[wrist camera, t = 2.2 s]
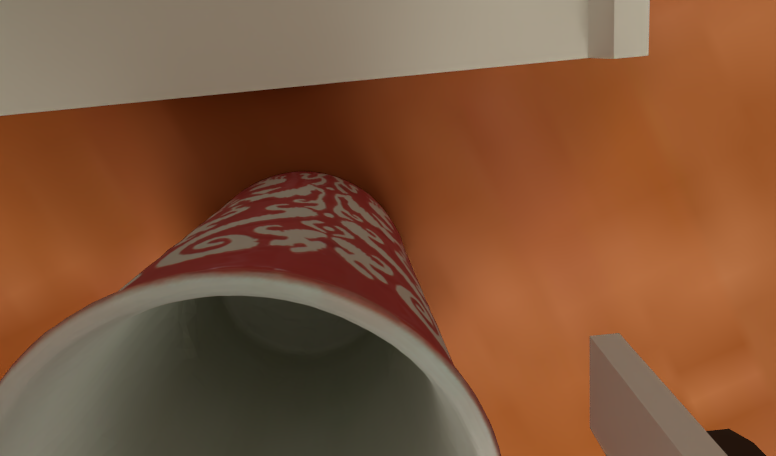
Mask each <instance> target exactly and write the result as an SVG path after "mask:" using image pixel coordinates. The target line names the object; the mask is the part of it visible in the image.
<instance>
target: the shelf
mask: <svg viewBox="0 0 776 456" xmlns="http://www.w3.org/2000/svg"><path fill="white" fill-rule="evenodd" d="M649 7H650V0H0V116H3V115H13V114H24V113H34V112H44V111H54V110H64V109H74V108H85V107H95V106H105V105H115V104H125V103H135V102H146V101H156V100H166V99H176V98H186V97H196V96H206V95H217V94H227V93H237V92H247V91H257V90H267V89H278V88H288V87H298V86H308V85H318V84H328V83H339V82H349V81H359V80H369V79H379V78H389V77H399V76H410V75H420V74H430V73H440V72H450V71H460V70H471V69H481V68H491V67H501V66H511V65H521V64H532V63H542V62H552V61H562V60H572V59H582V58H604V59H617V58H628V57H638V56H648V49H649Z"/></svg>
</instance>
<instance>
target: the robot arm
mask: <svg viewBox="0 0 776 456" xmlns="http://www.w3.org/2000/svg"><path fill="white" fill-rule="evenodd" d="M590 429H591V431H592V432H593V434H594V436H595V437H596V439H597V441H598V442H599V444H600V446H601V448H602V449H603V451H604V453H605V454H606V456H766V455H765V454H764V453H763V452H762V451H761V450H760V449H759V448H758V447H757V446H756V445H755V444H754V443H753V442H751V441H749V440H748V439H746V438H744V437H742V436H741V435H739V434H737V433H736V432H734V431H732V430H730V429H723V430H713V431H705V430H704V428H703V427H702V426H701V425H700V424H699V423H698V422H697V421H696V419H695V418H694V417H693V416H692V415H691V414H690V413H689V412H688V410H687V409H686V408H685V407H684V406H683V405H682V404H681V403H680V401H679V400H678V399H677V398H676V397H675V396H674V395H673V394H672V392H671V391H670V390H669V389H668V388H667V387H666V386H665V384H664V383H663V382H662V381H661V380H660V379H659V378H658V377H657V375H656V374H655V373H654V372H653V371H652V370H651V369H650V368H649V366H648V365H647V364H646V363H645V362H644V361H643V360H642V359H641V357H640V356H639V355H638V354H637V353H636V352H635V351H634V350H633V348H632V347H631V346H630V345H629V344H628V343H627V342H626V341H625V339H624V338H623V337H622V336H621V335H620V334H619V333H616V334H606V335H596V336H590Z"/></svg>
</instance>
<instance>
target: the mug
mask: <svg viewBox="0 0 776 456" xmlns="http://www.w3.org/2000/svg"><path fill="white" fill-rule="evenodd" d="M0 456H501V454H500V450H499V446H498V443H497V440H496V437H495V434H494V431H493V429H492V426H491V424H490V422H489V420H488V418H487V416H486V414H485V412H484V410H483V408H482V406H481V404H480V402H479V400H478V399H477V397H476V395H475V393H474V392H473V391H472V389H471V388H470V386H469V385H468V383H467V382H466V381H465V379H464V378H463V377H462V375H461V374H460V373H459V371H458V370H457V369H456V368H455V366H454V365H453V362H452V360H451V358H450V355H449V353H448V351H447V348H446V346H445V343H444V341H443V339H442V336H441V334H440V331H439V329H438V326H437V324H436V321H435V319H434V318H433V316H432V314H431V312H430V309H429V305H428V304H427V302H426V300H425V297H424V295H423V292H422V290H421V287H420V285H419V282H418V280H417V278H416V276H415V273H414V271H413V268H412V266H411V263H410V261H409V259H408V257H407V254H406V252H405V249H404V246H403V243H402V240H401V237H400V235H399V233H398V231H397V229H396V227H395V225H394V224H393V222H392V220H391V219H390V217H389V216H388V214H387V213H386V212H385V210H384V209H383V208H382V207H381V206H380V204H379V203H378V202H377V201H376V200H375V199H374V198H372V197H371V196H370V195H369V194H368V193H366V192H365V191H364V190H362V189H361V188H359V187H358V186H356V185H354V184H352V183H350V182H348V181H346V180H343V179H341V178H338V177H335V176H331V175H327V174H322V173H317V172H305V171H300V172H289V173H284V174H279V175H275V176H272V177H269V178H266V179H264V180H261V181H259V182H257V183H255V184H253V185H251V186H249V187H248V188H246V189H244V190H243V191H241V192H240V193H239V194H237V195H236V196H235V197H234V198H233V199H232V200H230V201H229V202H228V203H227V204H226V205H225V206H223V207H222V208H221V209H220V210H219V211H217V212H216V213H215V214H214V215H212V216H211V217H210V218H209V219H207V220H206V221H205V222H203V223H202V224H200V225H199V226H198V227H197V228H196V229H194V230H193V231H192V232H191V233H190V234H189V235H188V236H186V237H185V238H184V239H183V240H181V241H180V242H179V243H177V244H176V245H174V246H173V247H172V248H170V249H169V250H167V251H166V252H165V253H164V254H163V255H162V256H161V257H160V258H159V259H158V260H156V261H155V262H154V263H152V264H151V265H150V266H148V267H147V268H146V269H145V270H143V271H142V272H141V273H140V274H139V275H137V276H136V277H135V278H134V279H132V280H131V281H130V282H129V283H128V284H126V285H125V286H124V287H123V288H122V289H120V290H119V291H118V292H116V293H113V294H111V295H109V296H107V297H104V298H102V299H100V300H98V301H95V302H93V303H91V304H90V305H88V306H86V307H85V308H83V309H81V310H79V311H78V312H76V313H74V314H73V315H71V316H69V317H68V318H66V319H65V320H63V321H62V322H60V323H59V324H58V325H56V326H55V327H53V328H52V329H50V330H48V331H47V332H45V333H44V334H43V335H42V336H41V337H40V338H39V339H38V340H37V341H35V342H34V343H33V344H32V345H31V346H30V347H29V348H28V349H27V350H26V351H25V352H24V353H23V354H22V355H21V356H20V357H19V358H18V359H17V361H16V362H15V363H14V364H13V365H12V366H11V368H10V369H9V370H8V372H7V373H6V374H5V375H4V377H3V378H2V379H1V381H0Z"/></svg>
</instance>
